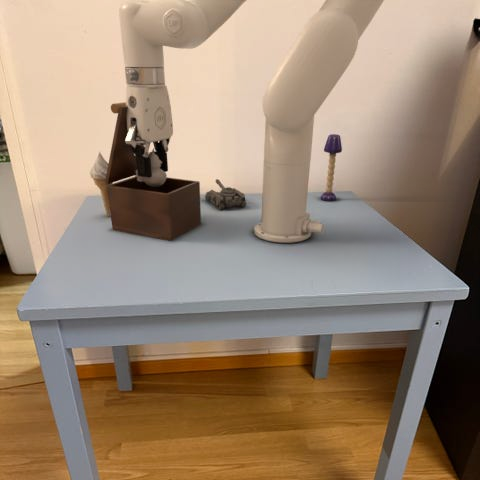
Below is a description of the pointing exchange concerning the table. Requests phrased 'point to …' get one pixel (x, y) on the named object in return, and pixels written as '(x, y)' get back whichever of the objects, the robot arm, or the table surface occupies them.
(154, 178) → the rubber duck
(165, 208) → the chest
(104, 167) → the ice cream cone
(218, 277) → the table surface
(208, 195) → the tank toy
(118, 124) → the chest lid
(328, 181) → the toy lamp
